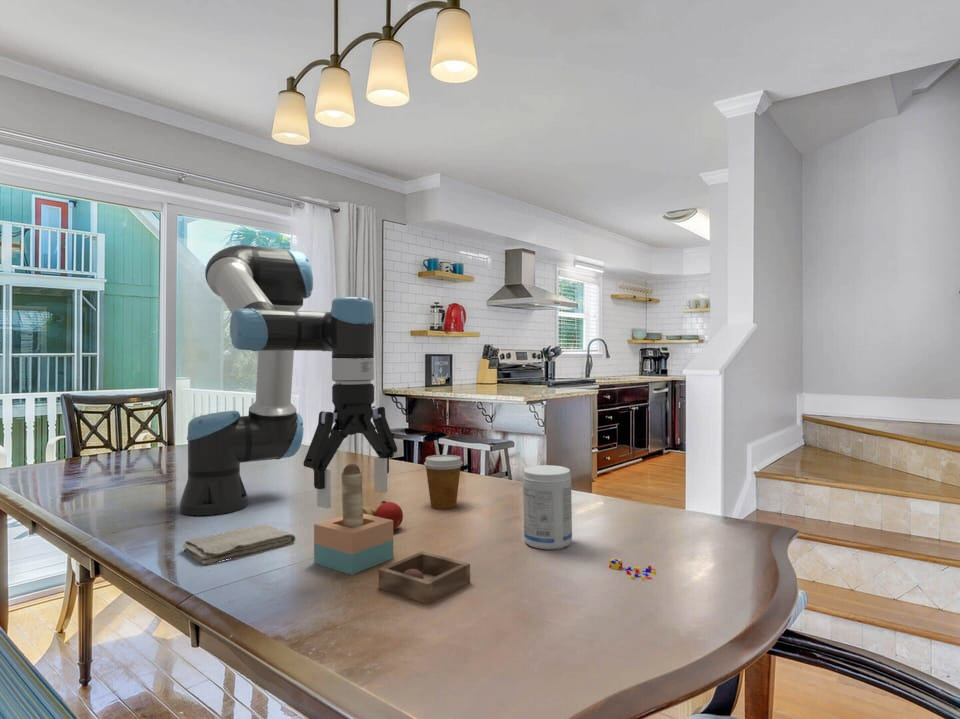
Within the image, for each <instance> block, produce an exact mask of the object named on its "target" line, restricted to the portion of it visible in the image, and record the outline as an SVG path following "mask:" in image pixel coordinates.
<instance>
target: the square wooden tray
mask: <svg viewBox="0 0 960 719" xmlns="http://www.w3.org/2000/svg"><path fill="white" fill-rule="evenodd" d="M408 569H417V570H419V571H420V572H421V573H422V572H424V573H427V572H428V574H431V575H434V574H435V575H434V577H432V578H430V579H429V580H426V579H420V578H417V577H413V576H410V575H407V574H403V573H404V572H405V571H406V570H408ZM470 582H471V563H469V562H465V561H462V560H457V559H453V558H450V557H449V558H448V557H446V556H442V555H438V554H434V553H431V552H426V551H419V552H417V553H415V554H412V555H410V556H407V557H405V558H402V559H400V560H398V561H395V562H393V563H391V564H388V565H386V566H384V567H381V568H379V569H378V589H380V590H384V591H387V592H390V593H393V594H396V595H399V596H401V597H404V598H408V599H411V600H413V601H414V600H415V601H418V602H421V603H423V604H426V603H427V604H426V605H429V603H430V604H431V603H433V602H435V601H437V600H439V599H441V598H442V597H444V596H446V595H448V594H450V593H452V592H454V591H456V590H458V589H459V588H461V587H463V586H465V585H467V584H469V583H470Z"/></svg>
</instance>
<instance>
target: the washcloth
mask: <svg viewBox="0 0 960 719" xmlns="http://www.w3.org/2000/svg"><path fill="white" fill-rule="evenodd" d="M296 538H297V537H296V536H295V534H293V533H290V532H287V531H285V530H280V529H278V528H276V527H273V526H271V525H269V524H267V523H266V524H259V525H254V526H250V527H243V528H237V529H233V530H228V531H223V532H219V533H215V534H209V535H205V536H200V537H195V538H190V539H188V540H185V542H184V543H183V544H182V547H183V552H184V551H186V552H185V553H186V555H187V556H188V557H189V556H190V558H191V559H192V560H194V561H196V563H198V564H201V565H203V566H207V565H206V564H208V565H213V564H212V563H215V564H218V563H220V562H219V561H222V560H226V559H230V558H231V559H232V560H235V558H236V559H240V558H244V557H247V556H253V555H256V554H259V553H264V552H267V551H272V550H276V549H279V547H280V548H283V547H282V546H284V547H288V546H290V545H291V546H292V545H293V544H294V543H295V541H296ZM287 545H288V546H287ZM275 548H276V549H275ZM271 549H272V550H271ZM217 562H218V563H217Z"/></svg>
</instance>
